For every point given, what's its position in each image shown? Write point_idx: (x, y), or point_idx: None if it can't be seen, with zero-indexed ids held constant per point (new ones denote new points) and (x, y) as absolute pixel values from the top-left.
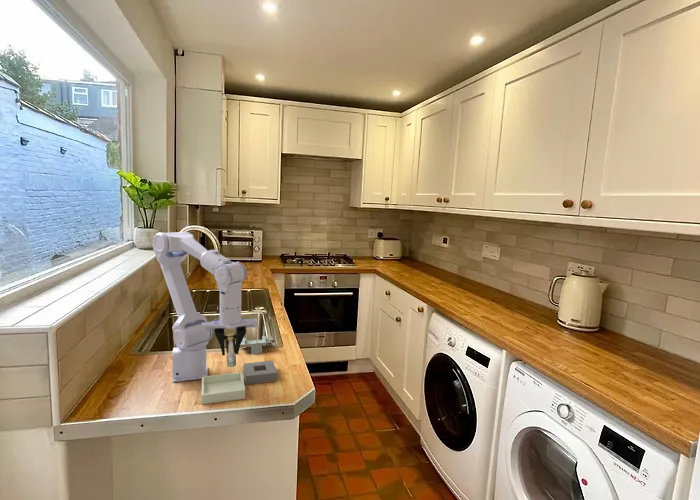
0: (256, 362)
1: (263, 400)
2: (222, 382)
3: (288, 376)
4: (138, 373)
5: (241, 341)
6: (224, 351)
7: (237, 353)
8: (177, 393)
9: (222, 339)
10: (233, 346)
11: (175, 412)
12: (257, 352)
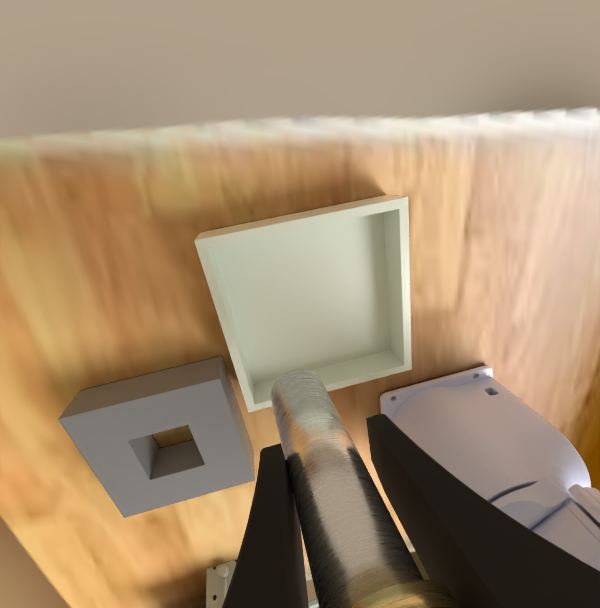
0: (198, 494)
1: (97, 205)
2: (322, 359)
3: (32, 427)
4: (572, 412)
5: (226, 597)
6: (385, 440)
7: (267, 451)
8: (472, 290)
9: (512, 576)
10: (316, 509)
11: (480, 136)
12: (221, 568)
